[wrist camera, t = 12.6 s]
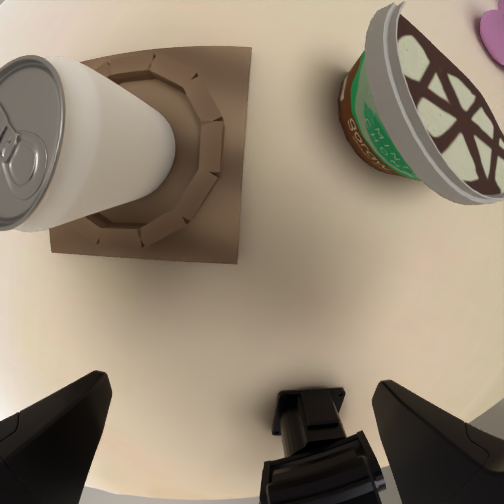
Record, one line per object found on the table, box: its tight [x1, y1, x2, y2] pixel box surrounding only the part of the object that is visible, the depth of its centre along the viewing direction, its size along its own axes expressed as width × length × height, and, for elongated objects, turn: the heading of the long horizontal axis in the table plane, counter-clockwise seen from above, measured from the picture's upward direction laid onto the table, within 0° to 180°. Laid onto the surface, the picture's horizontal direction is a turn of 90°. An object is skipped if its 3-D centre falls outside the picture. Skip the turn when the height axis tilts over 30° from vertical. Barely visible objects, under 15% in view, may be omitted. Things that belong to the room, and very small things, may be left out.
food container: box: [338, 1, 504, 205], centre depth 13 cm, size 12×6×10 cm, turn 55°
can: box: [0, 55, 175, 232], centre depth 11 cm, size 6×6×12 cm
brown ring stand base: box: [49, 46, 252, 264], centre depth 16 cm, size 15×15×3 cm
